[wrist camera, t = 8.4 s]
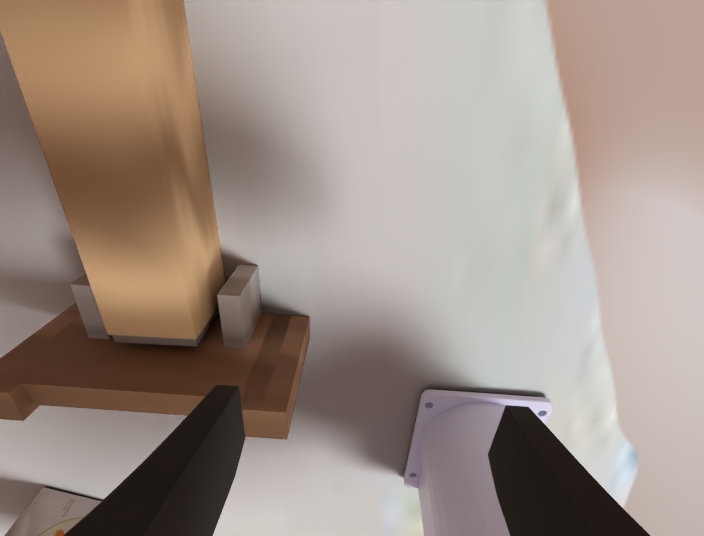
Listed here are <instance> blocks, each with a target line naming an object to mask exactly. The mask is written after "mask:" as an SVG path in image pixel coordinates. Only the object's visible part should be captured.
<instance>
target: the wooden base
mask: <svg viewBox="0 0 704 536" xmlns="http://www.w3.org/2000/svg"><path fill="white" fill-rule="evenodd" d="M70 287H71V290H72V293H73V295H74V298H75V301H76V303H75V304H74V305H72V306H71V307H70V308H68V309H67V310H66V311H64V312H63V313H61V314H60V315H59V316H57V317H56V318H55V319H53V320H52V321H51V322H49V323H48V324H47V325H45V326H44V327H42V328H41V329H40V330H38V331H37V332H36V333H34V334H33V335H32V336H30V337H29V338H28V339H26V340H25V341H24V342H22V343H21V344H19V345H18V346H17V347H15V348H14V349H13V350H11V351H10V352H9V353H7V354H6V355H5V356H3V357H2V358H0V419H8V420H22V421H24V420H25V419H26V418H27V417H28V416H29V415H30V414H31V413H32V412H33V411H34V410H35V409H36V408H37V407H38V406H39V405H49V406H63V407H77V408H91V409H105V410H119V411H133V412H147V413H161V414H175V415H189V414H190V413H191V412H192V410H193V409H194V408H195V407H196V406H197V405H198V404H199V403H200V402H201V400H202V399H203V398H204V397H205V396H206V395H207V394H208V393H209V392H210V390H211V389H212V388H213V387H214V386H216V385H229V386H239V389H240V397H241V405H242V414H243V422H244V430H245V436H246V437H260V438H274V439H287V436H288V432H289V428H290V423H291V419H292V414H293V410H294V405H295V401H296V397H297V392H298V388H299V383H300V379H301V374H302V370H303V366H304V361H305V357H306V352H307V348H308V343H309V317H305V316H290V315H276V314H262V313H261V300H260V286H259V272H258V266H253V265H238V266H237V268H236V269H235V271H234V272H233V273H232V275H231V276H230V278H229V279H228V280H227V282H226V283H225V284H224V286H223V287H222V289H221V290H220V291H219V293H218V294H217V298H218V305H219V313H218V315H217V317H216V318H215V320H214V321H213V323H212V324H211V326H210V327H209V329H208V330H207V332H206V333H205V335H204V336H203V338H202V339H201V341H200V342H199V344H198V345H197V347H195V346H177V345H158V344H139V343H120V342H114V339H113V336H112V335H108V334H107V331H106V328H105V325H104V322H103V320H102V317H101V314H100V311H99V308H98V305H97V303H96V300H95V297H94V294H93V291H92V289H91V286H90V283H89V280H88V277H87V274H85V275H83V276H82V277H80V278H79V279H77V280H76V281H74V282H73V283H71V284H70Z"/></svg>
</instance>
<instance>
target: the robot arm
mask: <svg viewBox="0 0 704 536" xmlns="http://www.w3.org/2000/svg"><path fill="white" fill-rule="evenodd" d="M429 402H430V403H429ZM552 408H553V405H552V403H551V401H550V399H548V398H545V397H531V396H516V395H502V394H488V393H474V392H460V391H446V390H432V389H429V390H425V391H424V392H422V394H421V398H420V403H419V408H418V412H417V417H416V422H415V427H414V432H413V436H412V441H411V446H410V451H409V456H408V460H407V465H406V470H405V475H404V484H405V486H407V487H411V488H418V491H419V499H420V506H421V514H422V522H423V529H424V536H650V535H649V534H648V533H647V532H646V531H645V530H644V529H643V528H642V527H641V526H640V525H639V524H638V523H637V522H636V521H635V520H634V519H633V518H632V517H631V516H630V515H629V514H628V513H627V512H626V511H625V510H624V509H623V508H622V507H621V506H620V505H619V504H618V503H617V502H616V501H615V500H614V499H613V498H612V497H611V496H610V495H609V494H608V493H607V492H606V491H605V490H604V488H603V487H602V486H601V485H600V484H599V483H598V482H597V481H596V480H595V479H594V478H593V477H592V476H591V475H590V474H589V473H588V471H587V470H586V469H585V468H584V467H583V466H582V465H581V464H580V463H579V462H578V461H577V460H576V458H575V457H574V456H573V455H572V454H571V453H570V452H569V451H568V450H567V449H566V447H565V446H564V445H563V444H562V443H561V442H560V441H559V440H558V439H557V437H556V436H555V435H554V434H553V433H552V432H551V431H550V430H549V429H548V427H547V426H546V425H545V423H546V421H547V419H548V417H549V415H550V412H551V410H552ZM244 440H245V430H244V422H243V414H242V405H241V397H240V389H239V386H229V385H216V386H214V387H213V388H212V389H211V390H210V392H209V393H208V394H207V395H206V396H205V397H204V398H203V399H202V400H201V402H200V403H199V404H198V405H197V406H196V407H195V408H194V409H193V410H192V412H191V413H190V414H189V415H188V416H187V417H186V418H185V419H184V420H183V421H182V422H181V423H180V425H179V426H178V427H177V428H176V429H175V430H174V431H173V432H172V433H171V434H170V435H169V436H168V437H167V438H166V439H165V440H164V441H163V442H162V443H161V444H160V445H159V446H158V447H157V448H156V449H155V451H154V452H153V453H152V454H151V455H150V456H149V457H148V458H147V459H146V460H145V461H144V462H143V463H142V464H141V465H140V466H139V467H138V468H136V469H135V470H134V471H133V472H132V473H131V474H130V475H129V476H128V477H127V478H126V479H125V480H124V481H123V482H122V483H121V484H120V485H119V486H118V487H117V488H116V489H114V490H113V491H112V492H111V493H110V494H109V495H108V496H107V497H106V498H105V499H104V500H103V501H102V502H101V503H99V504H98V505H97V506H96V507H95V508H94V509H93V510H92V511H91V512H89V513H88V514H87V515H86V516H85V517H84V518H83V519H82V520H80V521H79V522H78V523H77V524H76V525H75V526H73V527H72V528H71V529H70V530H69V531H68V532H66V533H65V534H64V535H63V536H213V533H214V530H215V528H216V525H217V522H218V520H219V517H220V515H221V512H222V509H223V507H224V504H225V501H226V499H227V496H228V493H229V491H230V488H231V485H232V483H233V480H234V477H235V474H236V470H237V467H238V463H239V459H240V456H241V452H242V448H243V444H244Z"/></svg>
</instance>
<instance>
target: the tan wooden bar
mask: <svg viewBox="0 0 704 536" xmlns="http://www.w3.org/2000/svg"><path fill="white" fill-rule="evenodd" d="M0 32H1V35H2V38H3V40H4V43H5V46H6V49H7V52H8V54H9V57H10V60H11V63H12V66H13V69H14V71H15V74H16V77H17V80H18V83H19V85H20V88H21V91H22V94H23V97H24V100H25V102H26V105H27V108H28V111H29V114H30V116H31V119H32V122H33V125H34V128H35V131H36V133H37V136H38V139H39V142H40V145H41V148H42V150H43V153H44V156H45V159H46V162H47V164H48V167H49V170H50V173H51V176H52V179H53V181H54V184H55V187H56V190H57V193H58V195H59V198H60V201H61V204H62V207H63V210H64V212H65V215H66V218H67V221H68V224H69V226H70V229H71V232H72V235H73V238H74V241H75V243H76V246H77V249H78V252H79V255H80V258H81V260H82V263H83V266H84V269H85V272H86V274H87V277H88V280H89V283H90V286H91V289H92V291H93V294H94V297H95V300H96V303H97V305H98V308H99V311H100V314H101V317H102V320H103V322H104V325H105V328H106V331H107V334H108V335H112V336H113V339H114V342H120V343H139V344H158V345H177V346H195V347H197V345H198V344H199V342H200V341H201V339H202V338H203V336H204V335H205V333H206V332H207V330H208V329H209V327H210V326H211V324H212V323H213V321H214V320H215V318H216V317H217V315H218V313H219V305H218V298H217V294H218V293H219V291H220V290H221V289H222V287H223V286H224V284H225V276H224V269H223V263H222V256H221V249H220V243H219V236H218V229H217V222H216V216H215V209H214V202H213V196H212V189H211V182H210V176H209V169H208V162H207V155H206V149H205V142H204V135H203V129H202V122H201V115H200V108H199V102H198V95H197V88H196V82H195V75H194V68H193V61H192V55H191V48H190V41H189V35H188V28H187V21H186V14H185V8H184V1H183V0H0Z"/></svg>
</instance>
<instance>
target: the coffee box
mask: <svg viewBox="0 0 704 536" xmlns="http://www.w3.org/2000/svg"><path fill="white" fill-rule="evenodd" d="M101 502H102V501H99V500H94V499H90V498H86V497H82V496H78V495H73V494H69V493H65V492H62V491H57V490H53V489H49V488H42V489H41V490H40V492H39V493H38V494H37V495H36V497H35V498H34V499H33V500H32V502H31V503H30V504H29V505H28V506H27V508H26V509H25V510H24V512H23V513H22V514H21V515H20V517H19V518H18V519H17V520H16V522H15V523H14V524H13V526H12V527H11V528H10V529H9V531H8V532H7V533H6V534H5V536H63V535H64V534H65V533H66V532H68V531H69V530H70V529H71V528H72V527H73V526H75V525H76V524H77V523H78V522H79V521H80V520H82V519H83V518H84V517H85V516H86V515H87V514H88V513H89V512H91V511H92V510H93V509H94V508H95V507H96V506H97V505H98V504H99V503H101Z"/></svg>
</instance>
